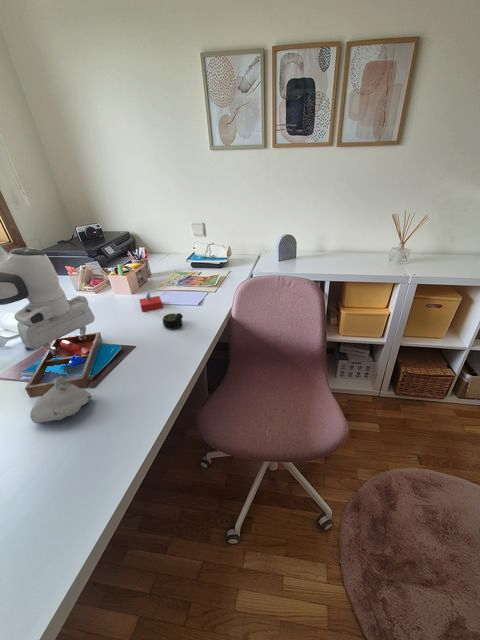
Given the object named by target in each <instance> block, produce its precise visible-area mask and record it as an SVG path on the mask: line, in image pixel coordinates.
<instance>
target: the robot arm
mask: <svg viewBox="0 0 480 640" xmlns="http://www.w3.org/2000/svg"><path fill="white" fill-rule="evenodd" d="M25 299H27V300H28V302H29V303H27V304H26V305H24V307H23V308H21V309H20V310H18V311H17V312H16V313H14V315H13V317H14V319H15V320H16V321H17V322H18V324H17V331H18V334H19V337H20V339H21V342H22V344H23V346H24V345H25V346H26V347H28V348H31V349H34V350H36V349H39V348H41V347H42V348H44V349H46V350H49V352H50V354H51V355H55V354H57V353H58V351H57V349H56V348H54V347H51V348H50V345H51V343H52V342H53V341H54V340H56V339H58V338H61V337H65V336H67V335H69V334H72V333H73V332H75V331H77V330H79V333H78V334H77V336H78V337H79V340H81V341H83V340H85V339H86V336H85V334H86V331H87V327H86V326H89V325H90V324H93V323H94V322H95V318H96V317H95V314H94V313H93V311H92V309H91V308H90V306H89V301H88V299H87V298H86V297H85V296H84V295H77V296H75V297H72V298H69V299H68V298H67V296H66V293H65V291H64V289H63V288H62V287H61V285H60V278H59V275H58V273H57V271H56V269H55V267H54V265H53V262H52V261H51V260H50V258H49V256H48V255H47V254H46V253H45V252H44V251H42V250H40V249H38V248H32V247H20V248H13V249H11V250H10V251H9V250H8V249H7V248H5V247H4V246H3V245H2V244H1V243H0V306H5V305H9V304H13V303H16V302H20V301H22V300H25Z"/></svg>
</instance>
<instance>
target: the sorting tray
mask: <svg viewBox="0 0 480 640" xmlns="http://www.w3.org/2000/svg"><path fill="white" fill-rule="evenodd" d="M77 335H78V334H77ZM77 335H69V336H62V337H60V338H58V339H56V340H54V341H52V342H50V346H49V347H50V348H51V347H54V348H56V349H58V350H57V351H58V353H57V354H55V355H51V354H50V352H49V350H48V349H46V352H45V354H44V355H43V357H42V359H41V361H39V364H38V366H37V367H36V369H35V371H34V372H33V374H32V375H31V377H30V378H29V380H28V382H27V384H26V386H25V388H24V390H25V392H26V393H27V394H28V397H30V398H34V397H35V398H36V397H40V396H41V397H42V396H43V395H44V394H45V393H46V392H48V391H49V390H50V389H51V388H52V387H53V386H54V379H55V378H57V377H60V376H63V378H64V381H65V383H70V384H72V385H75V386H76V387H78V388H81V389H87V388H88V385H89V383H90V380H89V375H90V372H91V370H92V367H93V365H94V362H95V363H96V361H95V359H96V360H97V358H96V356H97V357H98V355H97V352H98V349H99V346H100V344H101V345H102V343H103V337H102V334H101V332H92V333H85V336H86V339H85V340H83V341H81V340H79V337H78V336H77ZM63 340H67V341H69V342H72V343H74V344H77V345H79V346H80V347H81V348H87V349H88V350H89V352H90V353H89V354H88V355H81V356H74V357H79V358H84V359H85V360H86V361H85V362H84V363H82V364H79V365H76V366H70V365H67V364H68V363H69V361H70V359H71V358H73V357H71V356H73V355H74V353H72V352H70V351H67V350H65V349H63V348H61V347H60V342H61V341H63ZM58 347H59V348H58ZM100 347H101V346H100ZM99 350H100V349H99ZM98 353H99V352H98ZM57 355H58V356H57ZM53 356H55V357H53ZM56 356H57V357H60V356H61V357H60V358H61V359H54V360H51V359H52V358H57V357H56ZM61 364H66V365H65V366H64V365H63V366H62V367H61V368H60V369H62V368H63V367H64V368H63V370H64V372H63V373H65V371H66V373H67V374H68V375H67V374H62V373H61V374H59V373H57V372H56V373H55V372H51V371H49V372H45V370H46V368H47V366H54V365H61ZM94 366H95V365H94ZM63 370H62V371H63ZM59 371H60V370H59ZM44 373H45V374H44ZM77 374H78V375H79V374H80V375H81V374H82V375H81V376H80V375H79V376H78V375H77ZM75 375H76V376H75Z"/></svg>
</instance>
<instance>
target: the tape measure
mask: <svg viewBox="0 0 480 640" xmlns="http://www.w3.org/2000/svg"><path fill="white" fill-rule="evenodd" d="M183 318H184V315H183V314H182V313H181V312H178V313H168V314H165V315H164V316H163V317H162V319H161V320H162V325H163V327H164V328H166V329H169V330H171V329H172V330H173V329H178V328H181V327H182V326H183V323H182V322H183Z"/></svg>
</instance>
